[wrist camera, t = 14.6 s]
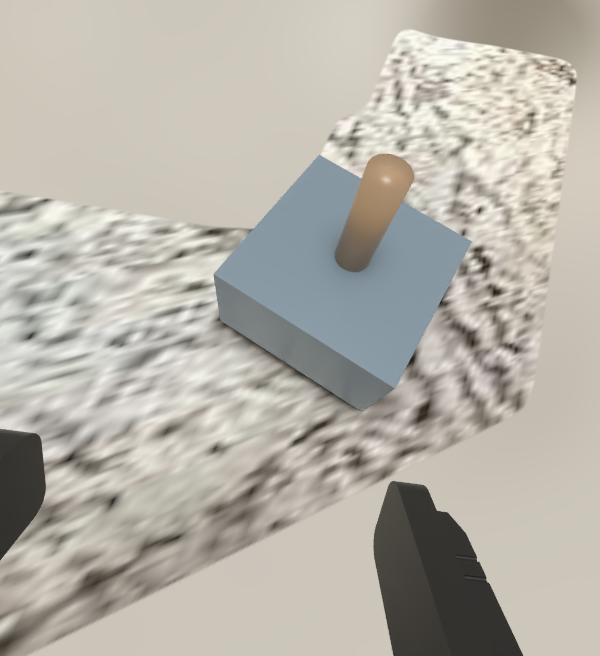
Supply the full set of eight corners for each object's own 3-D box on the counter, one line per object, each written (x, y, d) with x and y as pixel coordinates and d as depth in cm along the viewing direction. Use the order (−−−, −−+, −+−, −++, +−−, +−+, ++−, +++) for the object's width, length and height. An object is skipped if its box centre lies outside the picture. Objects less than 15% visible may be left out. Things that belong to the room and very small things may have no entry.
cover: (220, 320, 32) (200, 187, 18) (305, 216, 38) (341, 51, 24) (361, 411, 31) (460, 343, 17) (429, 289, 36) (545, 159, 22)
